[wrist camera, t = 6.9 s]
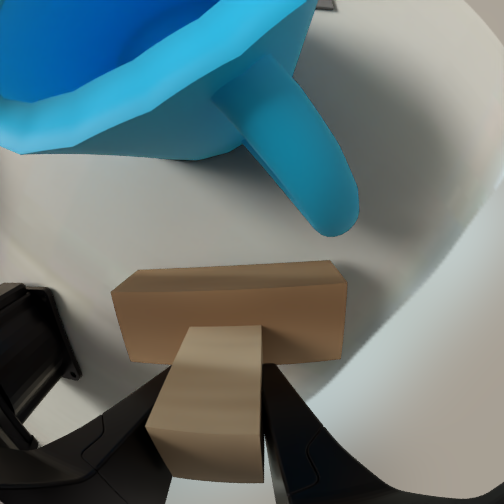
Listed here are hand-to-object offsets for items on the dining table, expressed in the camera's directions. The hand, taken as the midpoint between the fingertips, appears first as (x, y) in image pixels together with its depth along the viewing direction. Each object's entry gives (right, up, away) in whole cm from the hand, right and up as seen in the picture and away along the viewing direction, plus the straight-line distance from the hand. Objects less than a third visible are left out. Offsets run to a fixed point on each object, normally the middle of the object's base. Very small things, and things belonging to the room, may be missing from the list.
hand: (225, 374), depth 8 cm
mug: (0, +10, +2) cm, 10 cm away
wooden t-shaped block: (0, +1, +3) cm, 4 cm away
